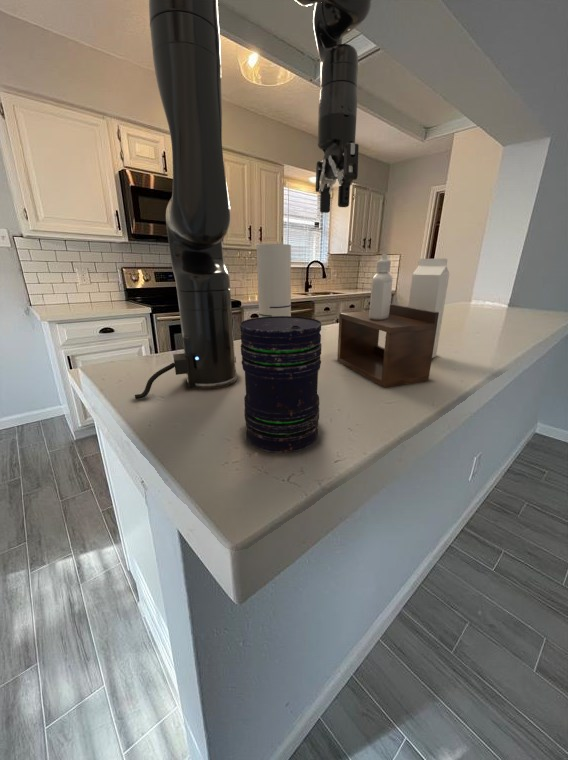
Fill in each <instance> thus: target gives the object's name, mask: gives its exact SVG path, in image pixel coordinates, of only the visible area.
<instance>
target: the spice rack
mask: <svg viewBox="0 0 568 760" xmlns="http://www.w3.org/2000/svg"><path fill="white" fill-rule="evenodd" d="M369 311H370V310H366V311H349V312H339V315H338V316H339V318H338V335H337V336H338V338H337V354H336V355H337V356H336V357H337V358H336V359H337V360H336V362H338V363H340V364H342V365H344V366H345V367H348V368H349V369H351V370H352V371H355V372H356V373H358V374H360V375H361V376H362V377H363V376H364V377H365V378H367V379H369V380H370V381H372V382H374V383H376V384H377V385H380V386H381V387H383V388H391V387H397V386H403V385H408V384H415V383H423V382H427V381H429V380H430V379H429V378H430V374H431V368H432V360H433V358H432V355H433V348H434V342H435V335H436V329H437V322H438V316H439V312H434V311H428V310H423V309H417V308H412V307H408V306H405V305H401V304H394V303H390V311H389V317H388V318H387V319H383V320H373V319H370V318H369ZM380 331H382V332H384V333H385V340H384V342H385V343H384V347H383V346H380V345H379V339H380Z"/></svg>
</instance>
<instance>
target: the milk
mask: <svg viewBox="0 0 568 760" xmlns="http://www.w3.org/2000/svg"><path fill="white" fill-rule="evenodd" d="M449 278H450V272H449V269H448V258H419V260H418V265H417V267H416V269H415V270H414V271H413V273H412V274H411V283H410V288H409V289H410V290H409V297H408V306H407V307H412V308H417V309H423V310H428V311H434V312H439V316H438V322H437V329H436V335H435V342H434V348H433V355H432V359H433V358H435V357H437V353H438V347H439V341H440V334H441V328H442V321H443V315H444V309H445V303H446V299H447V290H448V285H449Z"/></svg>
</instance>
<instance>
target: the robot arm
mask: <svg viewBox="0 0 568 760" xmlns="http://www.w3.org/2000/svg"><path fill="white" fill-rule="evenodd" d="M294 1H295V2H297V3H298V4H299V5H301V6H303V7H308V6H312V5H314V10H313V17H312V18H313V19H312V23H313V31H314V38H315V42H316V47H317V53H318V57H319V64H320V80H319V81H320V82H319V83H320V84H319V100H318V119H317V147H318V149H319V150H321V151H322V152H323V159H322V160H317V161H316V165H315V166H316V167H315V168H316V171H315V192H316V193H318V194H319V195H320V196H319V197H320V198H319V212H320V213H322V214H323V213H325V214H328V213H330V212H331V195H332V194H331V193H332V188H333V186H334V185H335V184H336V183H337V182H338V190H337V191H338V192H337V206H338V208H348V207H349V206H350V193H351V186H352V185H353V181H356V180H358V175H359V143H356V132H357V117H358V116H357V115H358V92H357V91H358V88H357V87H358V74H359V73H358V71H359V54H358V51H357V50H356V48H355V47H354V46H352V45H351V44H350V43H349V44H348V43H343V38H344V37H346V35H348V34H350V33H351V32H352V31H353V30H355V29H357V28H358V27H359V26H360V25H361V24H363V22H364V21H365V20H366V19H367V17H368V16H369V13H370V10H371V7H372V0H294ZM321 2H322V3H321ZM218 3H219V2H218V0H148V13H149V14H148V15H149V30H150V40H151V49H152V60H153V66H154V67H153V68H154V75H155V80H156V84H157V88H158V94H159V97H160V100H161V104H162V108H163V112H164V115H165V118H166V122H167V126H168V130H169V135H170V142H171V143H170V144H171V154H172V155H171V160H172V161H171V162H172V193H171V198H170V199H169V201H168V203H167V205H166V209H165V224H166V234H167V240H168V246H169V247H168V248H169V253H170V254H169V255H170V261H171V268H172V273H173V276H174V280H175V287H176V295H177V303H178V312H179V319H180V328H181V341H182V349H183V352H182V353H173V354H172V357H173V362H171V363H169V364H168V365H167V366H164V367H163V368H160V369H159V370H157V371H156V372H155V373H153V375H151V376H150V377H149V379H148V380H147V381H146V385H145V388H144V390H143V391H142V393H137V394H134V398H135V400H142V399H144V398H145V397H147V396H148V395H149V393H150V391H151V389H152V385H153V383H154V382H155V381H156V379H158V378H159V377H160V376H162V375H163V374H165V373H167V372H168V371H170V370H172V369H174V372H175V375H176V376H177V375H186V381H187V385H188V388H189V389H201V390H211V389H219V388H223V387H227V386H231V385H232V384H234V383H236V381H237V379H238V378H237V375H238V374H237V368H236V363H237V358H236V353H235V339H234V324H233V323H234V322H233V310H232V293H231V278H230V273H229V271H228V270H227V267H226V265H225V259H224V252H223V242H222V241H223V239H224V238H225V237H226V236H227V234H228V232H229V229H230V224H231V206H230V199H229V192H228V183H227V177H226V176H227V175H226V169H225V162H224V161H225V160H224V153H223V152H224V151H223V101H222V99H223V98H222V97H223V96H222V58H221V57H222V56H221V55H222V54H221V35H220V23H219V6H218ZM351 167H352V168H351Z"/></svg>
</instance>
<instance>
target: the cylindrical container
mask: <svg viewBox="0 0 568 760" xmlns="http://www.w3.org/2000/svg"><path fill="white" fill-rule="evenodd" d="M256 267H257V269H256V270H257V298H258V318H260V317H272V316H292V315H291V314H292V245H291V244H288V243H270V244H269V243H264V244H256Z"/></svg>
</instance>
